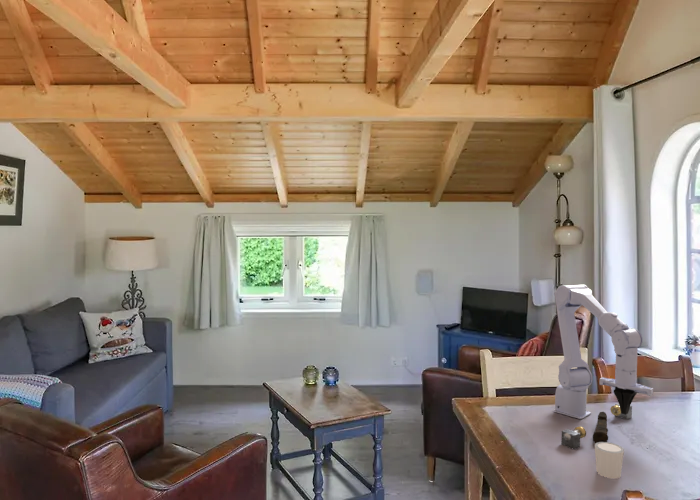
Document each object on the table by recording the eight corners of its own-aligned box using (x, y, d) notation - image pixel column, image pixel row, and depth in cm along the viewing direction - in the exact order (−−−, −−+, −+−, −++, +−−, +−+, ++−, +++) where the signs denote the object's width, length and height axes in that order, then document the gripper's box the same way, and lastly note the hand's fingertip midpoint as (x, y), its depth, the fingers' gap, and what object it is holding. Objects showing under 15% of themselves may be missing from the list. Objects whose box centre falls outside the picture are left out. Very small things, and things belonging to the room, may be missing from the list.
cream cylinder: (588, 467, 136) (589, 441, 136) (613, 466, 137) (614, 441, 136) (603, 480, 129) (604, 453, 129) (629, 479, 130) (630, 452, 130)
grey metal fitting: (574, 439, 154) (575, 424, 154) (587, 444, 151) (587, 428, 151) (560, 444, 151) (560, 429, 150) (572, 449, 147) (572, 433, 147)
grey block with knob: (620, 421, 169) (621, 407, 169) (609, 417, 172) (609, 404, 172) (632, 417, 172) (632, 403, 172) (620, 413, 176) (621, 400, 176)
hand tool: (607, 447, 150) (608, 431, 150) (592, 443, 152) (593, 428, 152) (612, 425, 166) (612, 411, 166) (598, 423, 168) (599, 409, 168)
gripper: (595, 366, 158) (594, 409, 158) (647, 376, 147) (646, 423, 148) (605, 362, 163) (603, 404, 163) (656, 372, 152) (654, 417, 152)
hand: (624, 413), depth 156 cm, fingers closed
